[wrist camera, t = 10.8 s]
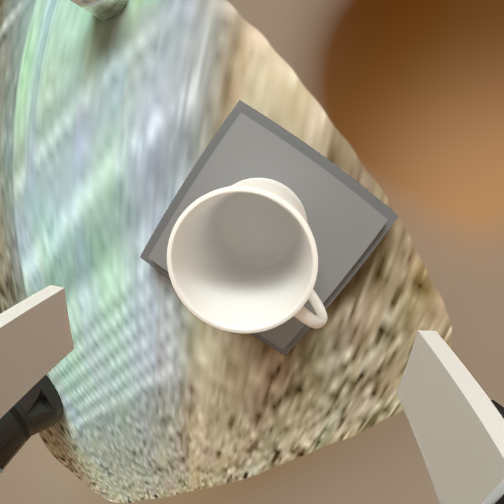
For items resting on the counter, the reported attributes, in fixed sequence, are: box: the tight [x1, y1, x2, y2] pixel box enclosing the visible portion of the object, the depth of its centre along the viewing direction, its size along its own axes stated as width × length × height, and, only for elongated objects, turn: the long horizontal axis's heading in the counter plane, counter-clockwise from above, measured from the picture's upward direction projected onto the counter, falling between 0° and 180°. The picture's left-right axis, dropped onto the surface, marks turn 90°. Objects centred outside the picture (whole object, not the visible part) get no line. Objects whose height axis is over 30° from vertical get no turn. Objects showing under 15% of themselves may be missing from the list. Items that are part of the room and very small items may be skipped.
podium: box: [140, 100, 398, 356], centre depth 30 cm, size 18×18×4 cm
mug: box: [167, 178, 328, 333], centre depth 23 cm, size 12×8×12 cm
